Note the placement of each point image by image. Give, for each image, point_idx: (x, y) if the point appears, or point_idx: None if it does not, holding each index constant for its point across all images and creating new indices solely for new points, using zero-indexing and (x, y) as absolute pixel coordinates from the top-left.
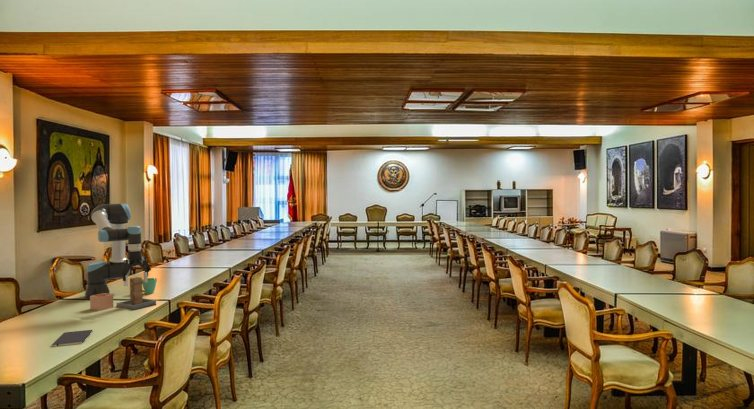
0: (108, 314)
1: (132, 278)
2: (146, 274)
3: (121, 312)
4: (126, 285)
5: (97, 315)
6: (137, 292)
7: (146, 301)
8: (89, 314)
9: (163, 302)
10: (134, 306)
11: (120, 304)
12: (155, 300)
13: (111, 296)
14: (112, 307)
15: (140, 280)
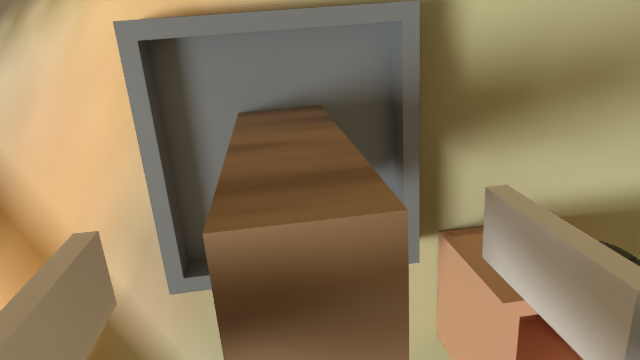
0: (580, 73)
1: (380, 326)
2: (3, 334)
3: (490, 39)
4: (514, 192)
5: (631, 122)
6: (307, 137)
7: (167, 163)
8: (627, 209)
9: (11, 68)
10: (396, 2)
11: (417, 205)
12: (119, 21)
13: (510, 289)
14: (452, 236)
15: (249, 205)
